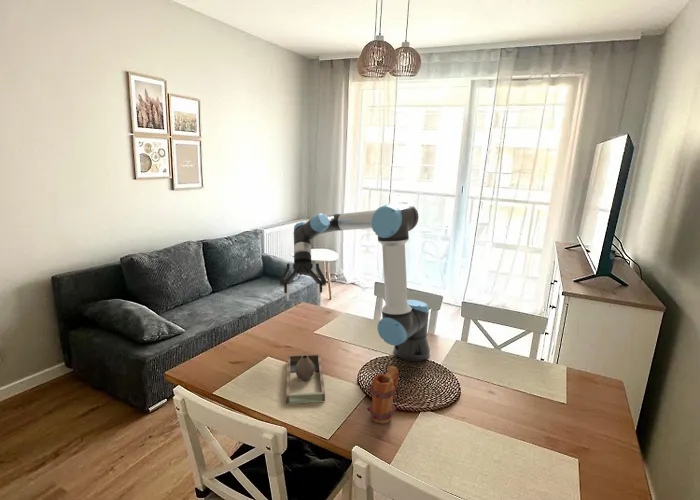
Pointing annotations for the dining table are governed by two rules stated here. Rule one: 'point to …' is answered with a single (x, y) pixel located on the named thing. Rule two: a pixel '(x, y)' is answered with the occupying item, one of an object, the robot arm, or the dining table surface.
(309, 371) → the vase
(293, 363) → the box
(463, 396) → the dining table surface
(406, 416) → the dining table surface
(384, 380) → the mug
